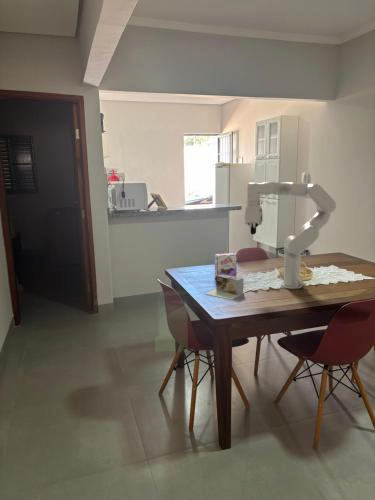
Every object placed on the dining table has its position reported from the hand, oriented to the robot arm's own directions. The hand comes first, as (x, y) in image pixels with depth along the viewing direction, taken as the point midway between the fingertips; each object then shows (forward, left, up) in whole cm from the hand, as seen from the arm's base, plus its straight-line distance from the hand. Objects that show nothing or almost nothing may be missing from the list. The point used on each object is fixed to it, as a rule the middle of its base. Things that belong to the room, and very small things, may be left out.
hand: (253, 233), depth 226 cm
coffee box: (-2, +18, -28) cm, 34 cm away
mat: (+7, +20, -33) cm, 39 cm away
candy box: (+24, -7, -33) cm, 42 cm away
